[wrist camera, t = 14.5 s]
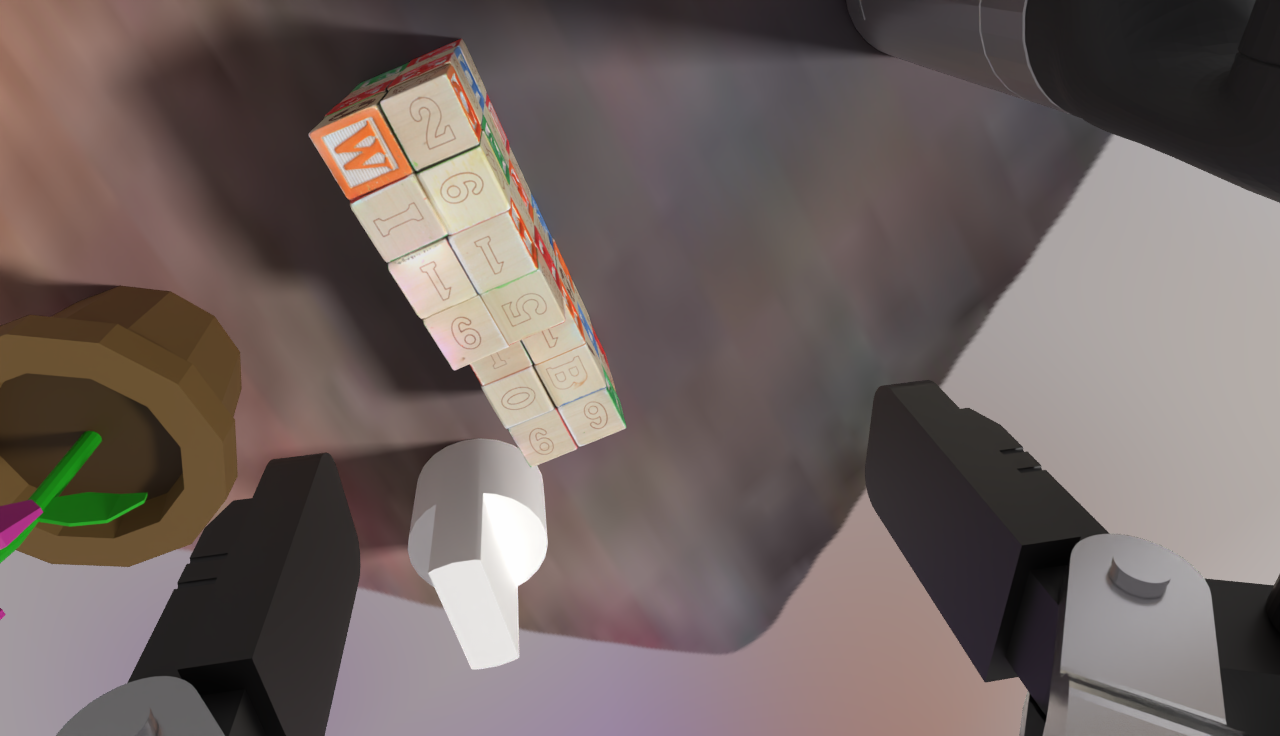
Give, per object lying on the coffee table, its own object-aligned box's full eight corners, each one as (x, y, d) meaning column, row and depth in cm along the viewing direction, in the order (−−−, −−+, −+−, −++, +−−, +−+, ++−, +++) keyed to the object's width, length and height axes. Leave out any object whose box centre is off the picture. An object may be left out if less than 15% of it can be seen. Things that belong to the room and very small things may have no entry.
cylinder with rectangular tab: (556, 521, 58) (567, 648, 48) (439, 549, 58) (425, 684, 48) (526, 425, 54) (531, 543, 43) (398, 455, 53) (373, 582, 43)
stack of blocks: (609, 353, 52) (636, 462, 41) (523, 388, 52) (529, 505, 42) (461, 34, 41) (446, 71, 31) (354, 81, 41) (303, 133, 31)
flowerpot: (237, 239, 44) (-129, 666, 19) (305, 441, 52) (109, 952, 26) (-31, 266, 43) (-829, 772, 17) (78, 471, 50) (-371, 1045, 24)
